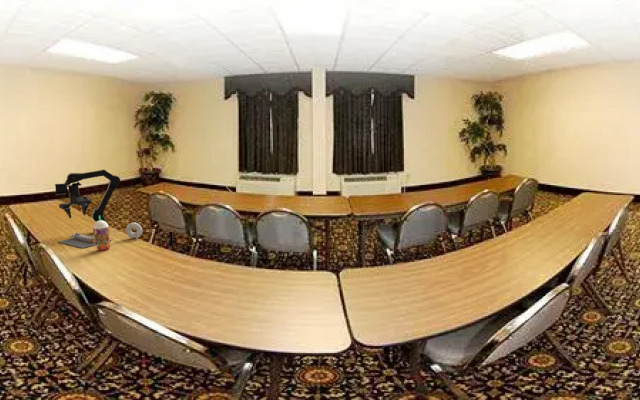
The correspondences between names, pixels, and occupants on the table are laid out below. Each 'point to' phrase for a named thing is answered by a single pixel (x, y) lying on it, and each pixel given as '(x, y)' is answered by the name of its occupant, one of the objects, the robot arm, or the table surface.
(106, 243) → the smoothie
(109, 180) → the robot arm
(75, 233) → the tong fixed arm
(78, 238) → the tong moving arm
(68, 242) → the rubber mat
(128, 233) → the donut
